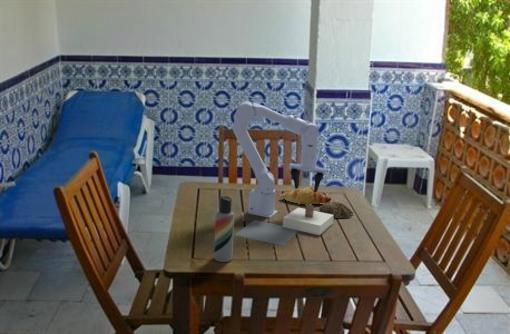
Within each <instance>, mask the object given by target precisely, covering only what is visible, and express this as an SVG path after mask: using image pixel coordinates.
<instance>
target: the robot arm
mask: <svg viewBox="0 0 510 334" xmlns="http://www.w3.org/2000/svg"><path fill="white" fill-rule="evenodd" d="M254 117H255V118H254ZM260 118H265V119H268V120H269V121H272V122H275V123H279V124H281V125H283V128H284V130H285V131H286V130H287V131H289V132H291V133H292V134H293V133H294V134H296V135H298V136H302V143H301V151H300V152H301V153H300V154H301V155H300V164H299V163H289V164H288V170H290V171H289V172H290V175H291V178H292V180H293V184H294V190H298V189H299V187H300V186H299V184H300V175H301V171H302V172H307V173H313V174H314V188H313V190H314V192H319V191H318V189H319V187H320V184H321V182H322V180H323V179H324V176H326V175H327V174H328V168H324V167H321V166H317V154H318V153H317V152H318V140H319V139H318V138H319V137H320V130H319V128H318V126H317V125H316V124H315V123H314V122H312V121H309V120H308V119H306V120H305V119H302V118H300V117H298V115H297V114H293V115H292V114H289V115H284V114H281V113H279V112H278V111H275V110H273V109H271V108H269V107H267V106H265V105H262V104H259V103H257V102H252V101H250V100H243V101H241V102H240V103H239V104H238V106H237V108H236V110H235V113H234V119H233V120H234V121H233V127H232V131H233V134H234V135H235V137H236V140H237V141H238V143H239V145H240V147H241V149H242V151H243V153H244V155H245V156H246V159H247V161H248V163H249V164H250V167H251V168H252V171H253V173H254V175H255V178H256V181H257V188H256V189H255V188H254V189H251V190H250V193H249V197H248V211H247V214H251V215H255V216H261V217H265V218H272V217H273V216H274V215H276V214H277V213H278V210H275V202H276V200H275V199H276V189H275V187H276V184H275V176H274V174H273V173H272V172H271V171H269V170H268V168H267V166H266V165H265V163H264V161H263V158H262V157H261V155H260V153H259V151H258V149H257V148H256V144H255V143H254V141H253V138H251V136H250V133H249V131H248V130H247V129H248V126H249V123H251V121H252V119H260Z"/></svg>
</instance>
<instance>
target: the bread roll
mask: <svg viewBox="0 0 510 334" xmlns="http://www.w3.org/2000/svg"><path fill="white" fill-rule="evenodd" d="M318 210H320V211H319V212H322V213H327V214H332V215H334V217H333V219H335V218H338V219H342V218H343V219H346V218H349V217H350V216H351V214H353V215H354V212H353V211H352V210H351V209H350V208H349V207H348V206H346V205H345V204H344V203H343V202H342V203H341V202H337V201H330V202H327V203H325V204H321V206H319V208H318ZM351 217H352V216H351ZM349 219H350V218H349Z"/></svg>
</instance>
